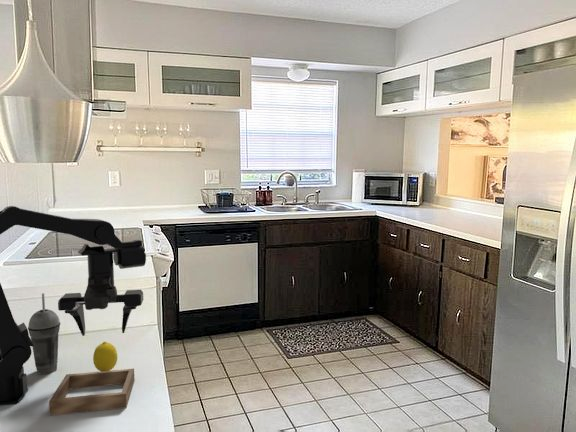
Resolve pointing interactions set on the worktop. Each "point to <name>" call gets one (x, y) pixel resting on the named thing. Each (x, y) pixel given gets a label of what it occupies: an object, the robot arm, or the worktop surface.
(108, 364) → the lemon
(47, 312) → the beverage cup
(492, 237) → the worktop surface
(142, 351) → the worktop surface
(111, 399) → the box
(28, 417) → the worktop surface
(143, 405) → the worktop surface
